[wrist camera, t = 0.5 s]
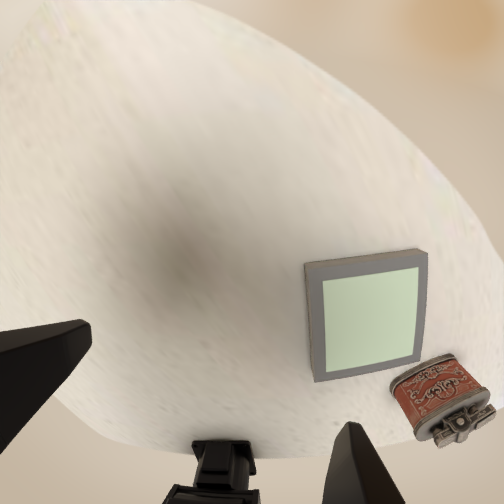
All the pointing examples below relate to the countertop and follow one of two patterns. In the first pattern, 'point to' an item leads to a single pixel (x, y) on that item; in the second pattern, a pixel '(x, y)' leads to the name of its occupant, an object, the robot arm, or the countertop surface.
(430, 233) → the countertop surface
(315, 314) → the baseplate
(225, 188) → the countertop surface
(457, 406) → the lighter
